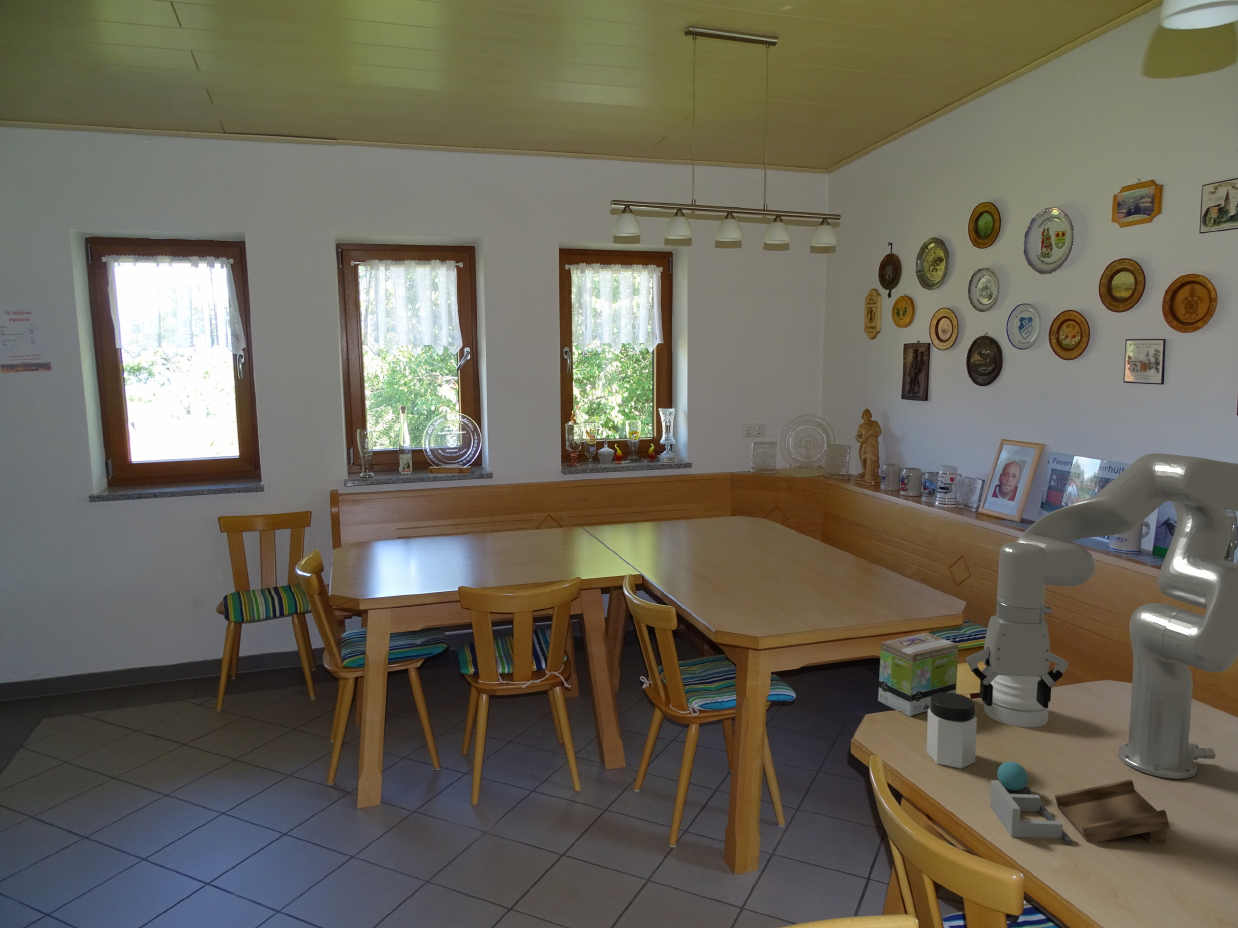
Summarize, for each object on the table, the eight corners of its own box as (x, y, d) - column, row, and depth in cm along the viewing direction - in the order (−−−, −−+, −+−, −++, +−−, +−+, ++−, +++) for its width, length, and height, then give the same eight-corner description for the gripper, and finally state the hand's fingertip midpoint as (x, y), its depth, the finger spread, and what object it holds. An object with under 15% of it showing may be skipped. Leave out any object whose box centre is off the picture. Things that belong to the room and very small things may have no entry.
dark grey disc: (1022, 782, 144) (1022, 780, 144) (1037, 801, 138) (1037, 798, 138) (987, 781, 145) (987, 779, 145) (1000, 799, 139) (1000, 797, 139)
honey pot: (972, 703, 179) (975, 628, 176) (1024, 700, 180) (1027, 626, 178) (1005, 729, 166) (1009, 648, 164) (1061, 725, 167) (1065, 645, 165)
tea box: (911, 718, 172) (913, 654, 170) (877, 701, 181) (878, 640, 179) (957, 704, 179) (959, 642, 177) (922, 688, 187) (924, 630, 186)
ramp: (1133, 811, 135) (1135, 779, 134) (1168, 846, 125) (1170, 811, 124) (1053, 809, 136) (1055, 777, 135) (1082, 843, 126) (1084, 808, 125)
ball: (1020, 782, 144) (1021, 756, 143) (1032, 796, 139) (1033, 770, 138) (992, 781, 144) (993, 755, 144) (1003, 795, 139) (1004, 769, 139)
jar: (955, 772, 148) (958, 713, 147) (918, 755, 155) (920, 698, 153) (982, 759, 153) (985, 701, 152) (945, 743, 160) (947, 688, 158)
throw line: (1038, 803, 137) (1038, 799, 137) (1071, 844, 125) (1071, 839, 125) (1033, 803, 137) (1033, 799, 137) (1066, 843, 125) (1066, 839, 125)
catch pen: (1037, 807, 136) (1038, 781, 135) (1061, 838, 127) (1063, 809, 126) (990, 806, 137) (991, 779, 136) (1011, 836, 128) (1012, 808, 127)
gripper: (1060, 607, 140) (1054, 697, 142) (962, 605, 142) (957, 693, 144) (1080, 620, 133) (1074, 714, 135) (977, 617, 135) (972, 711, 136)
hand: (1014, 703), depth 139 cm, fingers open, 9 cm apart
